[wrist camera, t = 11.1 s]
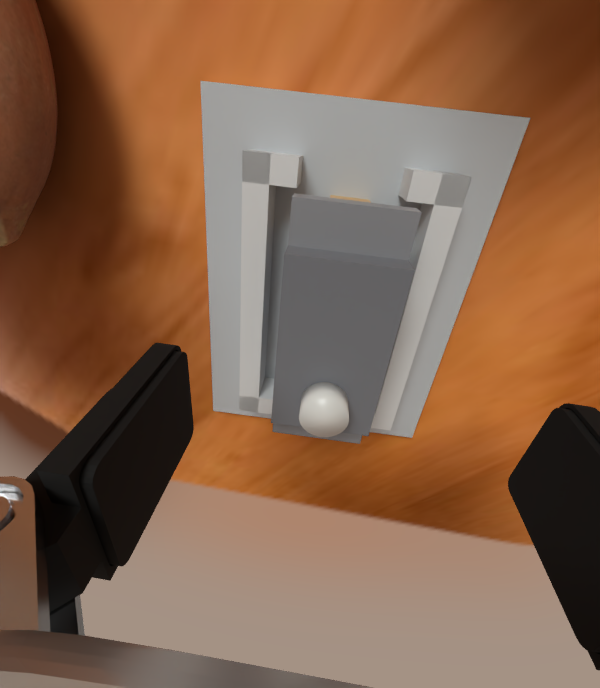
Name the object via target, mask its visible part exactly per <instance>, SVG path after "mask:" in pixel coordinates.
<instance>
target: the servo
mask: <svg viewBox="0 0 600 688" xmlns="http://www.w3.org/2000/svg"><path fill="white" fill-rule="evenodd" d="M421 213H422V212H421V211H419V210H418V209H417V208H411V207H403V206H395V205H386V204H378V203H371V202H370V200H368V199H360V198H352V197H343V196H335V195H330V198H328V197H320V196H312V195H304V194H295V193H294V195H293V196H292V202H291V214H290V226H289V238H288V246H287V249H286V251H285V253H284V262H283V275H282V288H281V300H280V313H279V326H278V339H277V352H276V365H275V378H274V391H273V404H272V417H271V423H273V432H278V433H285V434H293V435H300V436H307V437H314V438H322V439H329V440H336V441H344V442H351V443H358V444H360V441H361V438H362V435H363V436H369V432H370V429H371V425H372V421H373V418H374V414H375V411H376V407H377V404H378V400H379V397H380V393H381V389H382V386H383V382H384V379H385V375H386V372H387V368H388V364H389V361H390V357H391V354H392V350H393V347H394V343H395V339H396V336H397V332H398V329H399V325H400V322H401V318H402V315H403V311H404V307H405V304H406V300H407V297H408V293H409V290H410V286H411V282H412V279H413V275H414V272H415V269H414V268H413V266H412V265H411V263H410V262H409V258H410V254H411V250H412V247H413V243H414V239H415V235H416V232H417V228H418V224H419V220H420V217H421Z"/></svg>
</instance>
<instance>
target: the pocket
mask: <svg viewBox="0 0 600 688" xmlns="http://www.w3.org/2000/svg"><path fill="white" fill-rule="evenodd" d="M201 104H202V130H203V156H204V182H205V207H206V233H207V259H208V285H209V311H210V337H211V363H212V389H213V411H219V412H226V413H234V414H241V415H248V416H256V417H263V418H270V419H271V417H272V404H273V391H274V378H275V365H276V352H277V339H278V326H279V313H280V300H281V288H282V275H283V262H284V253H285V251H286V249H287V246H288V238H289V226H290V214H291V202H292V196H293V195H294V193H295V194H304V195H312V196H320V197H328V198H330V195H335V196H343V197H352V198H360V199H368V200H370V202H371V203H378V204H386V205H395V206H403V207H411V208H417V209H418V210H419V211H421V212H422V213H421V217H420V220H419V224H418V228H417V232H416V235H415V239H414V243H413V247H412V250H411V254H410V258H409V262H410V263H411V265H412V266H413V268H414V269H415V272H414V275H413V279H412V282H411V286H410V290H409V293H408V297H407V300H406V304H405V307H404V311H403V315H402V318H401V322H400V325H399V329H398V332H397V336H396V339H395V343H394V347H393V350H392V354H391V357H390V361H389V364H388V368H387V372H386V375H385V379H384V382H383V386H382V389H381V393H380V397H379V400H378V404H377V407H376V411H375V414H374V418H373V421H372V425H371V429H370V432H374V433H381V434H388V435H396V436H403V437H410V438H412V436H413V434H414V431H415V428H416V425H417V423H418V420H419V417H420V415H421V412H422V409H423V407H424V404H425V401H426V398H427V396H428V393H429V390H430V388H431V385H432V382H433V380H434V377H435V374H436V371H437V369H438V366H439V363H440V361H441V358H442V355H443V353H444V350H445V347H446V344H447V342H448V339H449V336H450V334H451V331H452V328H453V326H454V323H455V320H456V317H457V315H458V312H459V309H460V307H461V304H462V301H463V299H464V296H465V293H466V290H467V288H468V285H469V282H470V280H471V277H472V274H473V272H474V269H475V266H476V263H477V261H478V258H479V255H480V253H481V250H482V247H483V245H484V242H485V239H486V236H487V234H488V231H489V228H490V226H491V223H492V220H493V218H494V215H495V212H496V209H497V207H498V204H499V201H500V199H501V196H502V193H503V191H504V188H505V185H506V182H507V180H508V177H509V174H510V172H511V169H512V166H513V164H514V161H515V158H516V155H517V153H518V150H519V147H520V145H521V142H522V139H523V137H524V134H525V131H526V128H527V126H528V123H529V120H530V118H526V117H517V116H508V115H499V114H490V113H482V112H473V111H464V110H455V109H446V108H437V107H428V106H419V105H411V104H402V103H393V102H384V101H375V100H366V99H357V98H349V97H340V96H331V95H322V94H313V93H304V92H295V91H286V90H278V89H269V88H260V87H251V86H242V85H233V84H224V83H216V82H207V81H201Z"/></svg>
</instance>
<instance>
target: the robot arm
mask: <svg viewBox="0 0 600 688" xmlns="http://www.w3.org/2000/svg"><path fill="white" fill-rule="evenodd" d="M192 434H193V415H192V404H191V393H190V382H189V371H188V360H187V354H186V353H185V352H181V349H180V347H179V346H176V345H170V344H163V343H155V344H153V345H152V346H151V347H150V349H149V350H148V351H147V352H146V353H145V354H144V355H143V356H142V357H141V358H140V359H139V360H138V361H137V363H136V364H135V365H134V366H133V367H132V368H131V369H130V370H129V371H128V372H127V373H126V374H125V375H124V377H123V378H122V379H121V380H120V381H119V382H118V383H117V384H116V385H115V386H114V387H113V388H112V389H111V390H110V391H108V392H107V393H106V394H105V395H104V396H103V397H102V398H101V399H100V400H99V401H98V402H97V404H96V405H95V406H94V407H93V408H92V409H91V410H90V411H89V412H88V413H87V414H86V415H85V416H84V417H83V419H82V420H81V421H80V422H79V423H78V424H77V425H76V426H75V427H74V428H73V429H72V430H71V431H70V432H69V433H68V435H67V436H66V437H65V438H64V439H63V440H62V441H61V442H60V443H59V444H58V445H57V446H56V447H55V449H54V450H53V451H52V452H51V453H50V454H49V455H48V456H47V457H46V458H45V459H44V460H43V461H42V462H41V464H40V465H39V466H38V467H37V468H36V469H35V470H34V471H33V472H32V473H31V474H30V475H29V476H28V477H27V478H26V479H22V478H17V477H14V476H13V477H12V476H9V477H0V688H372V687H367V686H361V685H356V684H351V683H346V682H340V681H335V680H330V679H325V678H319V677H314V676H309V675H303V674H298V673H293V672H287V671H282V670H276V669H271V668H265V667H260V666H255V665H250V664H244V663H239V662H234V661H228V660H223V659H217V658H212V657H206V656H201V655H196V654H190V653H185V652H179V651H174V650H168V649H162V648H156V647H150V646H144V645H138V644H132V643H126V642H120V641H114V640H108V639H101V638H95V637H89V636H85V634H84V626H83V617H82V609H81V600H80V594H82V593H83V591H84V590H85V588H86V586H87V584H88V583H89V581H90V579H91V578H92V577H94V578H100V579H105V580H111V578H112V576H113V574H114V573H115V571H116V569H117V567H118V566H124V565H125V564H126V563H127V561H128V560H129V558H130V556H131V555H132V553H133V551H134V549H135V547H136V545H137V543H138V541H139V539H140V537H141V535H142V533H143V531H144V529H145V528H146V526H147V524H148V522H149V520H150V518H151V516H152V514H153V512H154V510H155V508H156V506H157V504H158V502H159V500H160V498H161V496H162V494H163V492H164V491H165V489H166V487H167V485H168V483H169V481H170V479H171V477H172V475H173V473H174V471H175V469H176V467H177V465H178V463H179V461H180V459H181V458H182V456H183V454H184V452H185V450H186V448H187V446H188V444H189V442H190V440H191V437H192ZM508 487H509V491H510V494H511V496H512V498H513V500H514V502H515V505H516V507H517V509H518V511H519V513H520V515H521V518H522V520H523V522H524V524H525V526H526V529H527V531H528V533H529V535H530V537H531V540H532V542H533V544H534V546H535V548H536V550H537V553H538V555H539V557H540V559H541V561H542V564H543V566H544V568H545V570H546V572H547V575H548V576H549V579H550V581H551V583H552V585H553V588H554V590H555V592H556V594H557V596H558V598H559V601H560V603H561V605H562V607H563V609H564V612H565V614H566V616H567V618H568V620H569V623H570V624H571V627H572V629H573V631H574V633H575V636H576V638H577V639H578V641H579V643H580V644H581V645H582V646H583V647H584V648H585V649H586V650H588V652H589V655H590V657H591V659H592V661H593V663H594V665H595V667H596V669H597V670H600V412H599V411H598V410H597V409H595V408H593V407H588V406H582V405H575V404H563V405H562V406H560V407H559V408H556V409H554V410H553V411H552V412H551V414H550V415H549V417H548V418H547V420H546V421H545V423H544V425H543V426H542V428H541V429H540V431H539V432H538V434H537V435H536V437H535V438H534V440H533V441H532V443H531V445H530V446H529V448H528V449H527V451H526V452H525V454H524V455H523V457H522V458H521V460H520V461H519V463H518V465H517V466H516V468H515V469H514V471H513V472H512V474H511V475H510V477H509V481H508Z"/></svg>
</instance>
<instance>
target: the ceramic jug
mask: <svg viewBox="0 0 600 688" xmlns="http://www.w3.org/2000/svg"><path fill="white" fill-rule="evenodd" d="M57 112H58V111H57V95H56V85H55V77H54V71H53V65H52V59H51V54H50V49H49V45H48V41H47V37H46V33H45V29H44V25H43V22H42V19H41V16H40V13H39V10H38V7H37V3H36V0H0V247H1V246H7V245H9V244H11V243H13V242H15V241H16V240H18V239H19V237H20V236H21V234H22V232H23V229H24V227H25V225H26V222H27V220H28V218H29V216H30V214H31V212H32V210H33V208H34V206H35V204H36V201H37V199H38V198H39V196H40V194H41V192H42V190H43V188H44V186H45V183H46V180H47V178H48V175H49V172H50V168H51V165H52V161H53V156H54V151H55V145H56V136H57Z"/></svg>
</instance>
